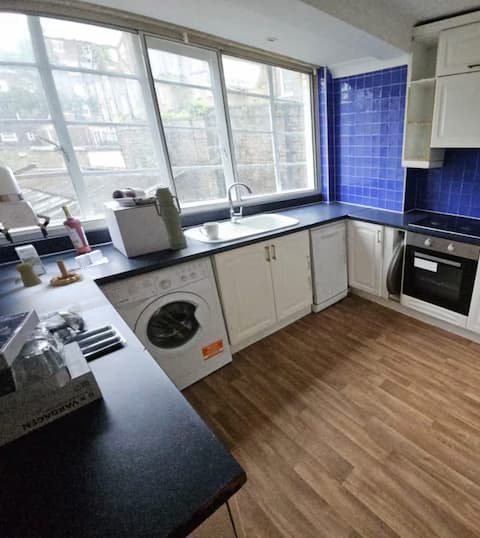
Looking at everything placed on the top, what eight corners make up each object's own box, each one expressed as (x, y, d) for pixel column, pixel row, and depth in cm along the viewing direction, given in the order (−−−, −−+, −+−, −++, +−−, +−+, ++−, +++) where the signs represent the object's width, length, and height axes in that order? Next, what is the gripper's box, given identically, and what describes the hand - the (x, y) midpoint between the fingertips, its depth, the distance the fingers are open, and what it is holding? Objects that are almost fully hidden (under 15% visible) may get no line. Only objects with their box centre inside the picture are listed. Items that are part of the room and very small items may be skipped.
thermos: (166, 247, 178) (148, 188, 164) (188, 243, 185) (172, 186, 171) (169, 251, 172) (151, 190, 158) (191, 246, 179) (175, 187, 165)
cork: (43, 281, 137) (32, 260, 132) (43, 285, 133) (32, 263, 128) (25, 286, 133) (13, 263, 129) (24, 290, 129) (11, 267, 125)
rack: (56, 289, 129) (44, 265, 125) (55, 283, 135) (44, 260, 130) (83, 282, 135) (72, 259, 130) (81, 277, 141) (71, 255, 136)
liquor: (95, 251, 177) (76, 204, 166) (83, 255, 170) (62, 207, 159) (86, 250, 178) (67, 204, 167) (73, 254, 172) (52, 207, 161)
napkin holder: (105, 257, 166) (102, 247, 164) (109, 261, 159) (105, 251, 157) (70, 265, 156) (66, 255, 154) (72, 270, 149) (67, 260, 147)
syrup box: (44, 271, 149) (31, 244, 144) (47, 273, 146) (33, 246, 140) (28, 275, 145) (14, 247, 139) (31, 277, 142) (16, 249, 136)
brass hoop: (51, 288, 128) (49, 283, 127) (50, 281, 134) (48, 277, 133) (81, 280, 134) (80, 276, 133) (79, 274, 140) (77, 270, 140)
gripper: (-26, 202, 108) (-3, 246, 114) (41, 196, 119) (58, 237, 126) (-23, 200, 113) (-1, 243, 119) (40, 195, 124) (57, 234, 131)
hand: (29, 240), depth 122 cm, fingers open, 9 cm apart
